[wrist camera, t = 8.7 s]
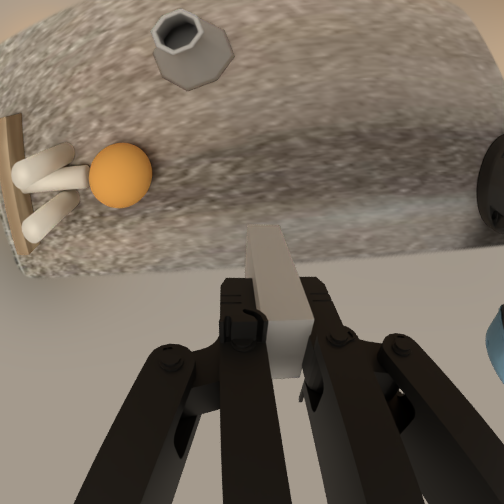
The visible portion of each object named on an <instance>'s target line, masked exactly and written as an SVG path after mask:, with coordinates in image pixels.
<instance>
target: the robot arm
mask: <svg viewBox="0 0 504 504" xmlns="http://www.w3.org/2000/svg"><path fill="white" fill-rule="evenodd" d="M477 199H478V207H479V211H480V215H481V217H482V219H483V221H484V222H485V223H486V224H487V225H488V226H489V227H491V228H492V229H494V230H495V231H497V232H499V233H501V234H504V135H502V136H500V137H499V138H498V139H497V140H496V141H495V142H494V143H493V144H492V145H491V147H490V148H489V150H488V152H487V154H486V156H485V158H484V161H483V164H482V167H481V170H480V175H479V180H478V190H477ZM220 294H221V295H220V320H219V337H218V339H217V340H216V341H215V343H213V344H212V345H210V346H209V347H207V348H204V349H201V350H197V351H193V352H191V351H190V350H189V349H188V348H187V347H184V346H182V345H179V344H167V345H162V346H160V347H158V348H156V349H154V350H153V352H152V353H151V354H150V355H149V357H148V358H147V360H146V362H145V364H144V366H143V368H142V369H141V371H140V373H139V375H138V377H137V379H136V380H135V382H134V384H133V386H132V388H131V390H130V392H129V394H128V395H127V397H126V399H125V401H124V403H123V405H122V407H121V409H120V411H119V413H118V414H117V416H116V418H115V420H114V422H113V424H112V426H111V428H110V430H109V432H108V434H107V436H106V438H105V440H104V442H103V444H102V446H101V448H100V450H99V452H98V454H97V456H96V458H95V460H94V462H93V464H92V466H91V468H90V470H89V472H88V474H87V477H86V479H85V481H84V483H83V485H82V487H81V489H80V491H79V493H78V496H77V498H76V500H75V502H74V504H172V501H173V498H174V495H175V492H176V489H177V486H178V483H179V480H180V477H181V474H182V471H183V468H184V465H185V462H186V459H187V456H188V453H189V450H190V447H191V444H192V441H193V438H194V435H195V432H196V429H197V426H198V423H199V420H200V417H201V414H204V413H208V412H211V411H215V410H218V409H220V428H221V462H222V463H221V464H222V489H223V504H292V501H291V495H290V489H289V483H288V477H287V471H286V465H285V458H284V452H283V445H282V439H281V433H280V427H279V420H278V415H277V408H276V402H275V396H274V389H273V383H272V379H282V378H283V379H284V378H299V377H300V374H301V370H302V369H303V373H304V377H305V379H304V383H303V386H302V389H301V392H300V396H299V402H302V401H303V398H305V402H306V407H307V411H308V415H309V420H310V424H311V429H312V433H313V438H314V442H315V447H316V451H317V456H318V461H319V465H320V469H321V474H322V479H323V484H324V488H325V493H326V497H327V503H328V504H425V503H424V500H423V496H424V498H425V499H426V501H427V502H428V504H504V444H503V443H502V442H501V440H500V439H499V438H498V437H497V435H496V434H495V433H494V432H493V430H492V429H491V428H490V427H489V425H488V424H487V423H486V422H485V420H484V419H483V418H482V417H481V416H480V414H479V413H478V412H477V411H476V410H475V408H474V407H473V406H472V405H471V404H470V403H469V401H468V400H467V399H466V398H465V397H464V395H463V394H462V393H461V392H460V391H459V390H458V388H456V386H455V385H454V384H453V383H452V381H451V380H450V379H449V378H448V377H447V376H446V375H445V374H444V373H443V371H442V370H441V369H440V368H439V367H438V366H437V365H436V363H435V362H434V361H433V360H432V359H431V358H430V357H429V356H428V355H427V354H426V352H425V351H423V349H422V348H421V347H420V346H419V345H418V344H417V343H416V342H415V341H414V340H413V339H412V338H410V337H408V336H406V335H404V334H398V333H394V334H389V335H388V336H386V337H385V339H384V341H383V343H374V342H368V341H363V340H360V339H359V338H358V336H357V335H356V333H355V332H354V331H353V330H351V329H350V328H348V327H346V326H343V324H342V322H341V320H340V317H339V315H338V313H337V310H336V308H335V306H334V304H333V302H332V301H331V297H330V295H329V294H328V291H327V289H326V287H325V284H324V283H322V282H321V281H320V280H319V279H318V278H317V277H299V276H298V273H297V270H296V267H295V265H294V262H293V259H292V257H291V254H290V251H289V249H288V246H287V243H286V241H285V238H284V236H283V233H282V230H281V228H280V225H251V224H247V242H246V263H245V278H226V279H225V280H224V282H223V283H222V285H221V293H220ZM486 348H487V352H488V355H489V358H490V361H491V363H492V365H493V367H494V369H495V371H496V373H497V375H498V376H499V378H500V380H501V381H502V382H503V384H504V304H503V305H501V306H500V308H499V312H498V313H497V315H496V317H495V318H494V320H493V321H492V323H491V325H490V326H489V328H488V330H487V333H486ZM399 389H401V390H402V391H403V393H404V394H402V393H401V392H399ZM422 495H423V496H422Z"/></svg>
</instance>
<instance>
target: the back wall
mask: <svg viewBox="0 0 504 504" xmlns="http://www.w3.org/2000/svg"><path fill="white" fill-rule="evenodd" d="M23 159H25V155H24V145H23V133H22V114H21V113H20V114H16V115H11V116H7V117H3V118H0V181H1V187H2V193H3V198H4V203H5V208H6V212H7V217H8V221H9V225H10V229H11V233H12V237H13V240H14V244H15V247H16V251H17V254H19V255H29V254H30V253H31V252H32V251H33V250H34V249H35V248H36V247H37V246H38V245H39V244H40V241H39V242H38V243H31V242H29V241H28V240H27V239H26V238H25V237H24V235H23V232H22V223H23V221H24V220H25V219H26V218H28V217H29V216H30V215H31V214H33V213H34V212H33V207H32V202H31V197H30V193H27V194H24V193H22V191H21V190H20V189H19V188H17V187H16V186H15V185H14V183H13V181H12V177H11V171H12V168H13V166H14V164H15V163H17V162H19V161H21V160H23Z"/></svg>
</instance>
